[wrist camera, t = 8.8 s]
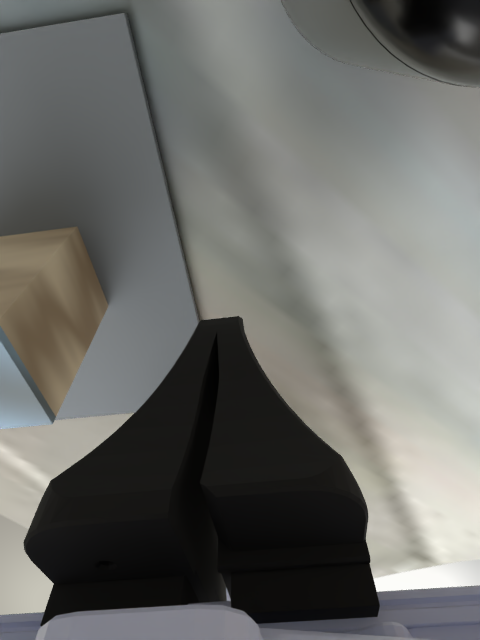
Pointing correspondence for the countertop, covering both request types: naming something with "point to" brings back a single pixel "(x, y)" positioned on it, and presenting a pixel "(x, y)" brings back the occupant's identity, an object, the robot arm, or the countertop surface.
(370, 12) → the supplement bottle
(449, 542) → the countertop surface
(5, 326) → the beech block
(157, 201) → the rubber mat
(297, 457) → the robot arm
